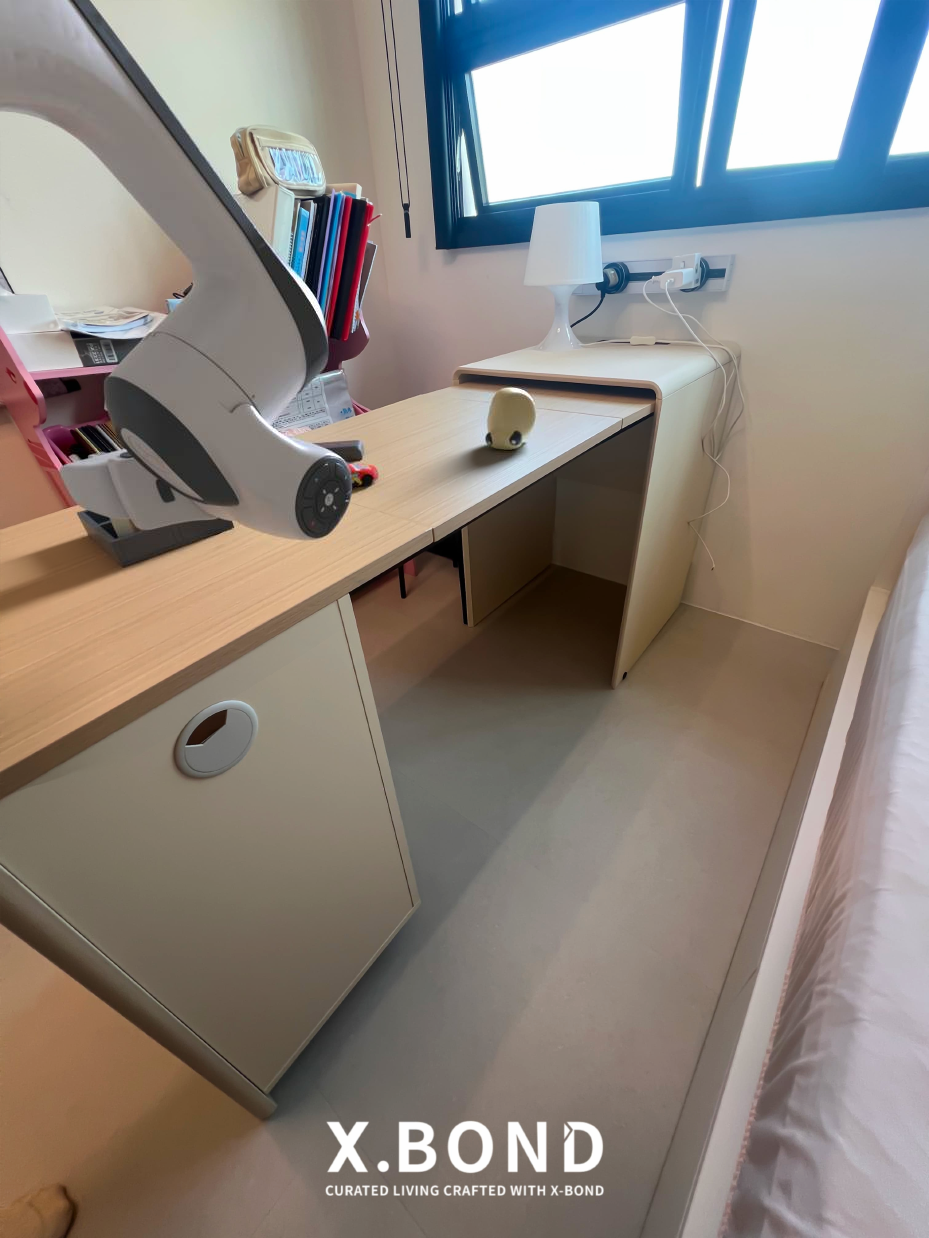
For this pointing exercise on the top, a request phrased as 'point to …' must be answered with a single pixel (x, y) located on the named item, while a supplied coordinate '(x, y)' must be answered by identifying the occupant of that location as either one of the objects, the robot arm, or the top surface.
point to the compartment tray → (147, 536)
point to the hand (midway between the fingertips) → (142, 449)
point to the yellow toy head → (510, 419)
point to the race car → (362, 474)
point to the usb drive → (345, 449)
